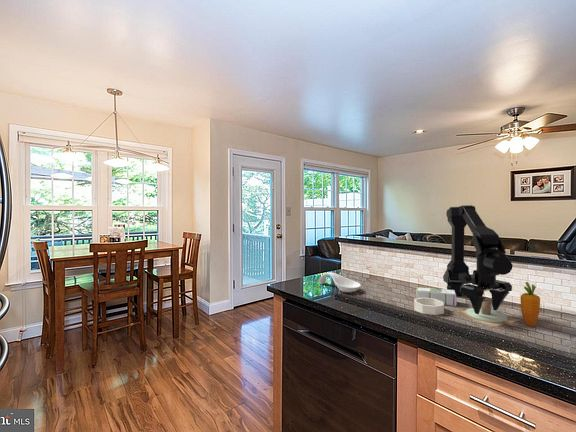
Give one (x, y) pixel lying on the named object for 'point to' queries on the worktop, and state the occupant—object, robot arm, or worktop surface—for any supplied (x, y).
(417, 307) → the bowl
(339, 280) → the spoon rest
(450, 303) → the syrup box
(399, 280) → the worktop surface
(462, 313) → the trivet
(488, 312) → the lid
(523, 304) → the carrot
